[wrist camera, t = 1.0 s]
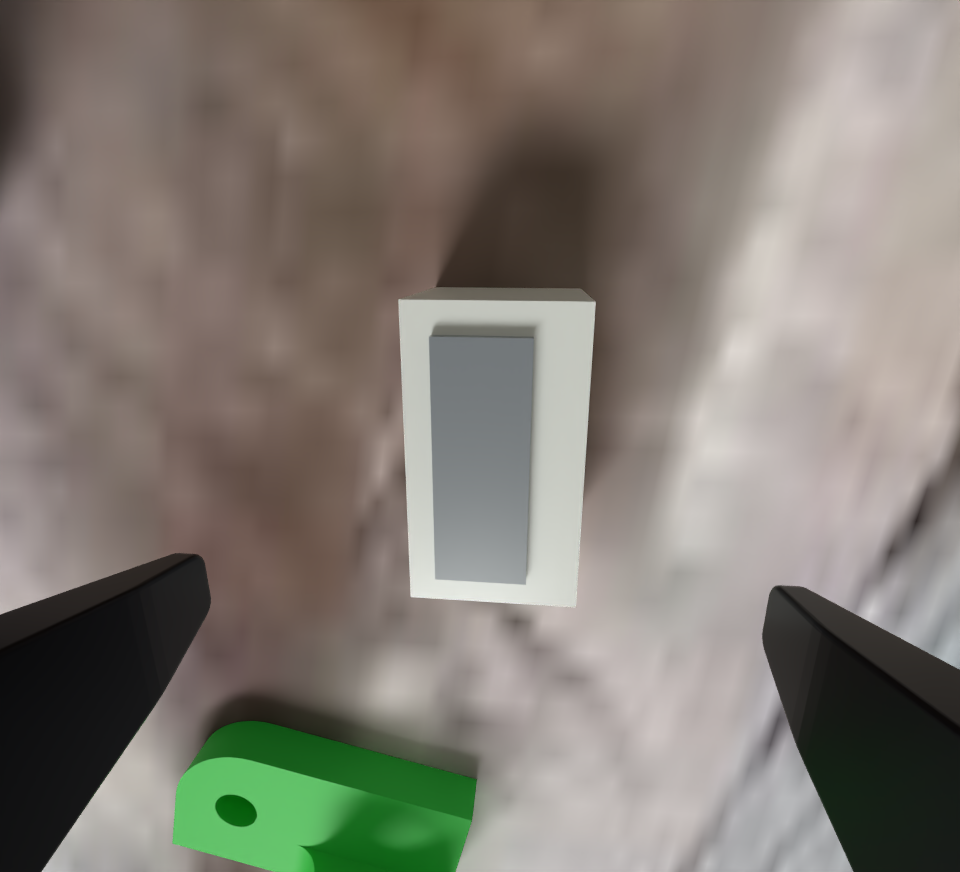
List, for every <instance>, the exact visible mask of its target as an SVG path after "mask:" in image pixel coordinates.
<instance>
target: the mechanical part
mask: <svg viewBox="0 0 960 872" xmlns="http://www.w3.org/2000/svg"><path fill="white" fill-rule="evenodd" d="M476 782H477V779H473V778H469V777H466V776H462V775H458V774H455V773H451V772H447V771H444V770H440V769H436V768H433V767H429V766H425V765H422V764H418V763H414V762H411V761H407V760H403V759H400V758H396V757H392V756H389V755H385V754H381V753H378V752H374V751H370V750H367V749H363V748H359V747H356V746H352V745H348V744H345V743H341V742H337V741H333V740H330V739H326V738H322V737H319V736H315V735H311V734H308V733H304V732H300V731H297V730H293V729H289V728H286V727H282V726H278V725H275V724H271V723H266V722H260V721H242V722H236V723H232V724H229V725H226V726H224V727H222V728H220V729H218V730H217V731H216V732H214V733H213V734H212V735H211V736H210V737H209V738H208V740H207V741H206V743H205V744H204V746H203V747H202V749H201V750H200V752H199V753H198V754H197V756H196V757H195V759H194V760H193V762H192V763H191V765H190V766H189V768H188V769H187V771H186V772H185V774H184V775H183V776H182V778H181V779H180V782H179V784H178V787H177V791H176V802H175V816H174V830H173V844H176V845H180V846H184V847H187V848H191V849H195V850H198V851H202V852H205V853H209V854H213V855H216V856H220V857H223V858H227V859H231V860H234V861H238V862H242V863H245V864H249V865H252V866H256V867H260V868H263V869H267V870H270V871H274V872H456V868H457V865H458V862H459V859H460V856H461V853H462V850H463V847H464V844H465V840H466V837H467V834H468V831H469V828H470V825H471V822H472V816H473V807H474V799H475V791H476Z"/></svg>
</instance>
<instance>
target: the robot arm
mask: <svg viewBox="0 0 960 872" xmlns="http://www.w3.org/2000/svg"><path fill="white" fill-rule="evenodd" d="M210 604H211V596H210V590H209V584H208V579H207V573H206V567H205V563H204V560H203V558H202V557H201V556H199V555H197V554H184V553H175V554H171V555H168V556H166V557H163V558H160V559H157V560H154V561H151V562H149V563H146V564H143V565H140V566H137V567H134V568H131V569H129V570H126V571H123V572H120V573H117V574H114V575H112V576H109V577H106V578H103V579H100V580H97V581H94V582H92V583H89V584H86V585H83V586H80V587H77V588H75V589H72V590H69V591H66V592H63V593H60V594H57V595H55V596H52V597H49V598H46V599H43V600H40V601H38V602H35V603H32V604H29V605H26V606H23V607H20V608H18V609H15V610H12V611H9V612H6V613H3V614H1V615H0V872H42V870H43V869H44V867H45V866H46V864H47V863H48V861H49V860H50V858H51V857H52V856H53V854H54V853H55V851H56V850H57V848H58V847H59V845H60V844H61V842H62V841H63V839H64V838H65V837H66V835H67V834H68V832H69V831H70V829H71V828H72V826H73V825H74V823H75V822H76V821H77V819H78V818H79V816H80V815H81V813H82V812H83V810H84V809H85V807H86V806H87V804H88V803H89V802H90V800H91V799H92V797H93V796H94V794H95V793H96V791H97V790H98V788H99V787H100V785H101V784H102V783H103V781H104V780H105V778H106V777H107V775H108V774H109V772H110V771H111V769H112V768H113V767H114V765H115V764H116V762H117V761H118V759H119V758H120V756H121V755H122V753H123V752H124V750H125V749H126V748H127V746H128V745H129V743H130V742H131V740H132V739H133V737H134V736H135V734H136V733H137V731H138V730H139V729H140V727H141V726H142V724H143V723H144V721H145V720H146V718H147V717H148V715H149V714H150V713H151V711H152V710H153V708H154V707H155V705H156V703H157V702H158V700H159V699H160V697H161V696H162V694H163V692H164V691H165V689H166V687H167V686H168V684H169V682H170V681H171V679H172V677H173V675H174V673H175V672H176V670H177V668H178V666H179V664H180V663H181V661H182V659H183V657H184V655H185V654H186V652H187V650H188V648H189V646H190V645H191V643H192V641H193V639H194V637H195V636H196V634H197V632H198V630H199V628H200V627H201V625H202V623H203V621H204V619H205V618H206V616H207V614H208V611H209V608H210ZM762 640H763V647H764V650H765V653H766V656H767V659H768V662H769V666H770V669H771V672H772V675H773V678H774V681H775V684H776V687H777V690H778V693H779V696H780V699H781V702H782V705H783V708H784V711H785V714H786V717H787V720H788V723H789V726H790V729H791V732H792V734H793V737H794V740H795V743H796V746H797V748H798V750H799V753H800V755H801V757H802V760H803V762H804V764H805V766H806V769H807V771H808V773H809V775H810V777H811V780H812V782H813V784H814V786H815V788H816V791H817V793H818V795H819V797H820V799H821V802H822V804H823V806H824V808H825V810H826V813H827V815H828V817H829V819H830V821H831V824H832V826H833V828H834V830H835V832H836V835H837V837H838V839H839V841H840V843H841V845H842V848H843V850H844V852H845V854H846V856H847V859H848V861H849V863H850V865H851V867H852V870H853V872H960V670H959V669H957V668H955V667H953V666H951V665H950V664H948V663H946V662H944V661H942V660H940V659H938V658H936V657H934V656H933V655H931V654H929V653H927V652H925V651H923V650H921V649H919V648H918V647H916V646H914V645H912V644H910V643H908V642H906V641H904V640H903V639H901V638H899V637H897V636H895V635H893V634H891V633H889V632H887V631H886V630H884V629H882V628H880V627H878V626H876V625H874V624H872V623H871V622H869V621H867V620H865V619H863V618H861V617H859V616H857V615H855V614H854V613H852V612H850V611H848V610H846V609H844V608H842V607H840V606H839V605H837V604H835V603H833V602H831V601H829V600H827V599H825V598H823V597H822V596H820V595H818V594H816V593H814V592H812V591H810V590H808V589H807V588H804V587H800V586H782V585H779V586H775V587H774V588H772V590H771V592H770V594H769V599H768V605H767V610H766V616H765V621H764V627H763V633H762Z"/></svg>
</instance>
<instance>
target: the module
mask: <svg viewBox="0 0 960 872" xmlns="http://www.w3.org/2000/svg"><path fill="white" fill-rule="evenodd" d="M398 301H399V325H400V349H401V373H402V397H403V421H404V445H405V469H406V493H407V517H408V541H409V565H410V588H411V597H419V598H435V599H451V600H467V601H482V602H498V603H514V604H530V605H546V606H562V607H576V596H577V581H578V565H579V550H580V535H581V520H582V504H583V489H584V474H585V459H586V444H587V428H588V413H589V398H590V383H591V367H592V352H593V337H594V322H595V307H596V301H594V300H593V299H592V298H591V297H590V296H589V295H588V294H587V293H585V292H584V291H583V290H582V289H581V288H474V287H435V288H432V289H429V290H426V291H423V292H420V293H417V294H414V295H411V296H408V297H404V298H401V299H398Z"/></svg>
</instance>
